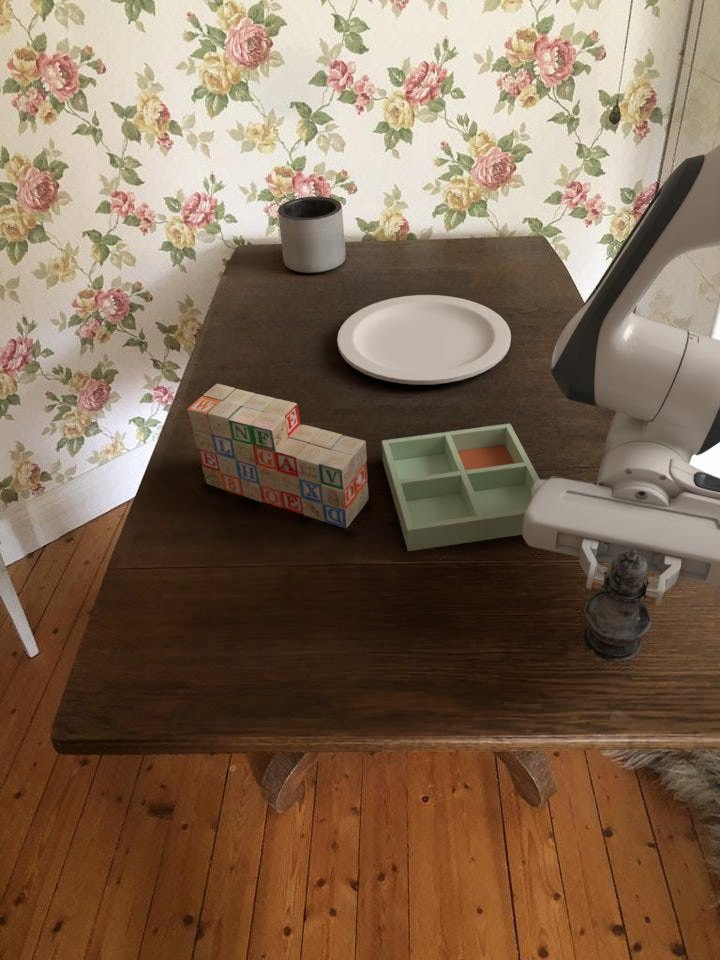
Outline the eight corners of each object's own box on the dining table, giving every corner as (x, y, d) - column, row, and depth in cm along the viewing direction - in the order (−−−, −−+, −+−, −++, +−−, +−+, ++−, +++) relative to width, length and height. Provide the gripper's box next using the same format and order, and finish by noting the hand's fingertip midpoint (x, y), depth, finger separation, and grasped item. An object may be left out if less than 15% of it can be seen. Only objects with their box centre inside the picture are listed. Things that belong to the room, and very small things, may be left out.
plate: (305, 344, 126) (303, 331, 125) (430, 292, 138) (430, 280, 137) (413, 415, 108) (413, 402, 107) (546, 348, 121) (548, 335, 119)
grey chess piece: (567, 628, 72) (582, 539, 65) (616, 606, 74) (637, 516, 66) (607, 674, 68) (628, 584, 61) (658, 649, 70) (685, 559, 62)
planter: (300, 281, 145) (294, 224, 138) (274, 259, 154) (266, 205, 146) (357, 265, 149) (354, 209, 142) (328, 244, 158) (324, 191, 151)
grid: (508, 443, 102) (510, 423, 100) (552, 530, 89) (555, 508, 87) (382, 460, 101) (381, 440, 99) (407, 551, 88) (407, 530, 85)
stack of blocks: (370, 499, 95) (365, 419, 87) (346, 530, 91) (339, 450, 83) (232, 457, 103) (216, 381, 95) (204, 484, 99) (185, 406, 91)
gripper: (539, 450, 77) (508, 540, 67) (759, 489, 70) (760, 595, 61) (534, 497, 81) (504, 588, 71) (741, 537, 74) (739, 644, 65)
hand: (623, 592), depth 66 cm, fingers closed on grey chess piece, 3 cm apart
